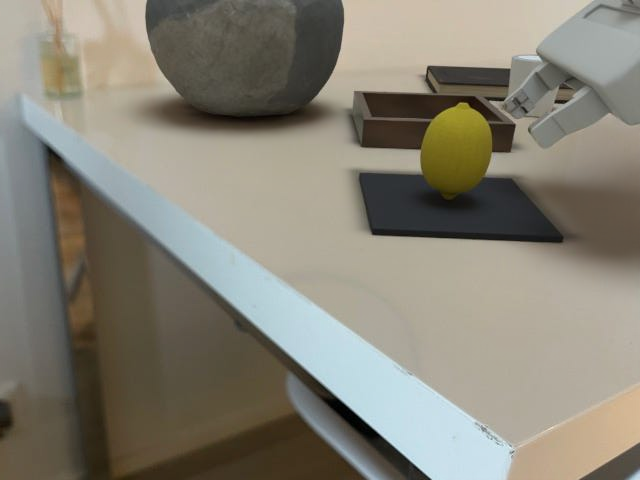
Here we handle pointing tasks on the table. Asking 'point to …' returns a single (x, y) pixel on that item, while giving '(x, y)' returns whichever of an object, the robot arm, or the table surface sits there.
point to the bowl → (246, 51)
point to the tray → (419, 106)
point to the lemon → (456, 150)
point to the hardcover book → (480, 82)
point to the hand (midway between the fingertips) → (520, 124)
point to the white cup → (518, 75)
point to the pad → (453, 210)
